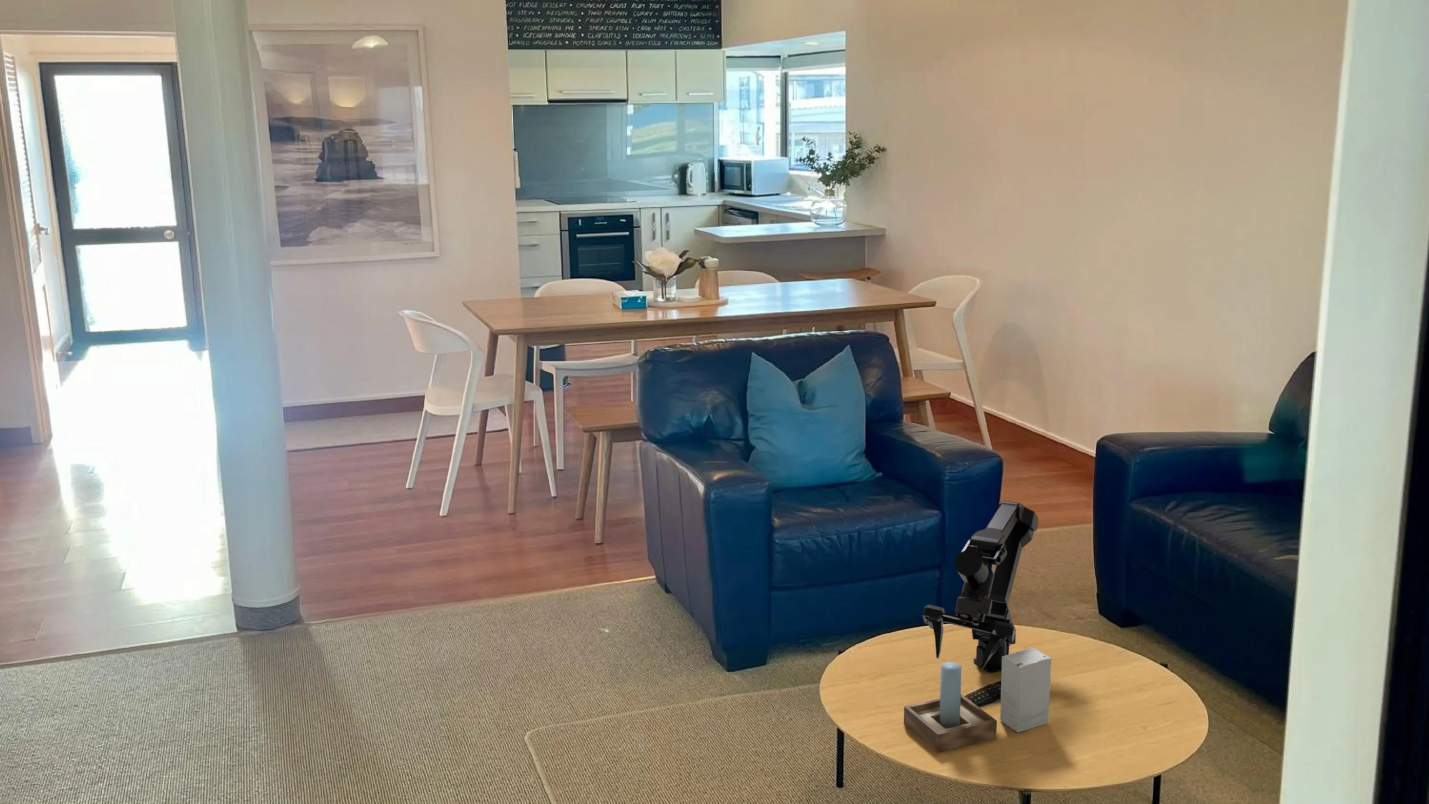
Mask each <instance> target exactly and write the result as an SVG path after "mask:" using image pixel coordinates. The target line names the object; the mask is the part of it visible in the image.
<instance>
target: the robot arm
mask: <svg viewBox="0 0 1429 804" xmlns="http://www.w3.org/2000/svg"><path fill="white" fill-rule="evenodd" d="M1038 526H1039V517H1038V515H1037V513H1036V512H1035V511H1034V510H1031V509H1030V508H1027V507H1026V506H1024V504H1023V503H1020V502H1018V501H1017V502H1016V501H1009V500H1000V501H999V503H998V507H997V511H995V513H994V515H993V516H992V518H991V520H990V521H989V523H988V524H987V525H986V527H985V529H981V530H978V531H976V532H975V533H974V534H973V535H972V536H971V538H970V539H968V540H967V542H966V544H965V545H964V547H963V549H962V550H961V552H960V553H958V554H957V556H956V557H955V559H954V567H955V569H956V571H957V573H958V574H959V576H960V578H961V579H962V580H963V582H964V583H963V586H962V590H961V594H960V596H958V597H957V600H956V605H955V610H954V614H955V615H954V614H949V613H946V612H945V608H944V607H941V606H937V605H933V604H927V605H925V606H924V608H923V611H922V615H921V616H922V619H923V623H925V624H926V625H928V627H929V629H932V630H933V634H934V642H935V655H936V656H935V657H936V659H939V658H940V655H941V651H942V650H941V649H942V643H943V636H944V631H945V630H944V623H945V624H949V625H954V626H958V627H962V628H966V629H971V636H972V640H977V646H976V647H975V648H976V653H975V655H976V656H975V658H973V663H975V664H976V665H978V666H979V667H980V670H985V671H987V672H988V673H995V672H998V671H1002V656H1005V655H1009V654H1010V646H1011V645H1015V644H1016V639H1017V638H1016V635H1017V633H1016V631H1017V629H1016V627H1015V624H1014V623H1013V616H1012V613H1011V610H1010V607H1009V601H1010V596H1011V593H1012V590H1013V589H1012V588H1013V587H1014V586H1013V585H1014V581H1015V578H1016V574H1017V570H1018V566H1019V562H1020V558H1021V554H1022V550H1023V549H1024V548H1025V547H1026V546H1027V545H1029V543H1030V542H1032V540H1033V536H1034V533H1035V532H1037V531H1038ZM988 565H992V566H993V565H994V566H995V569H994V572H993V570H992V567H989V566H988Z"/></svg>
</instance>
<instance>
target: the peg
mask: <svg viewBox="0 0 1429 804" xmlns="http://www.w3.org/2000/svg"><path fill="white" fill-rule="evenodd" d="M939 686H940V688H939V689H940V691H939V699H940V723H939V724H940V725H941V726H942V727H944V728H945V729H947V728H952V727H956V726H960V698H961V694H962V693H961V690H962V688H961V687H962V665H960V664H959V663H957V662H955V661H954V662H952V661H947V662H943V663H941V664H940V684H939Z"/></svg>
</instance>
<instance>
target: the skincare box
mask: <svg viewBox="0 0 1429 804" xmlns="http://www.w3.org/2000/svg"><path fill="white" fill-rule="evenodd" d="M1051 670H1052V658H1051V657H1050V656H1048V655H1046V654H1045V653H1042V652H1041V651H1039V650H1038V649H1036V648H1035V647H1028V648H1026V649H1022V650H1020V651H1016V652H1012V653H1009V655H1005V656H1002V670H1001V678H1000V681H1001V683H1000V712H999V713H1000V716H999V720H1000V721H1001V722H1002V723H1003V724H1004V725H1006V726H1008V727H1009V728H1010V729H1012V730H1013V731H1014V732H1016V733H1021V732H1025V731H1027V730H1031V729H1034V728H1037V727H1041V726H1044V725H1046V724H1049V719H1050V718H1049V717H1050V693H1051V692H1050V690H1051Z"/></svg>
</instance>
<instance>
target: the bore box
mask: <svg viewBox="0 0 1429 804" xmlns="http://www.w3.org/2000/svg"><path fill="white" fill-rule="evenodd" d="M939 723H940V698H935V699H930V700H927V701H922V702H917V703H914V704H910V705H909V704H908V705H906V706H905V705H904V706H903V724H904V725H905V726H906V727H907V728H908V729H909V730H910V731H912V732H913V733H914V734H915V735H917V736H918V737H919V738H920V739H921V740H922V741H923V742H925V744H927V745H928V746H929V747H931V748H932V749H933V750H934V751H935V752H937V753H941V752H944V751H949V750H954V749H957V748H961V747H966V746H970V745H974V744H978V743H981V742H985V741H990V740H995V739H997V727H998V721H997V719H995V718H994V717H993V716H991V715H990V714H988V713H987V712H986V711H985V710H983V709H982V708H981V707H979V706H978V705H977V704H976V703H974V702H972V701H971V700H970V699H969V698H968V697H967V696H965V695H963V694H962V693H961V698H960V726H956V727H952V728H947V729H945V728H944V727H942V726H941V725H940V724H939Z"/></svg>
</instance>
